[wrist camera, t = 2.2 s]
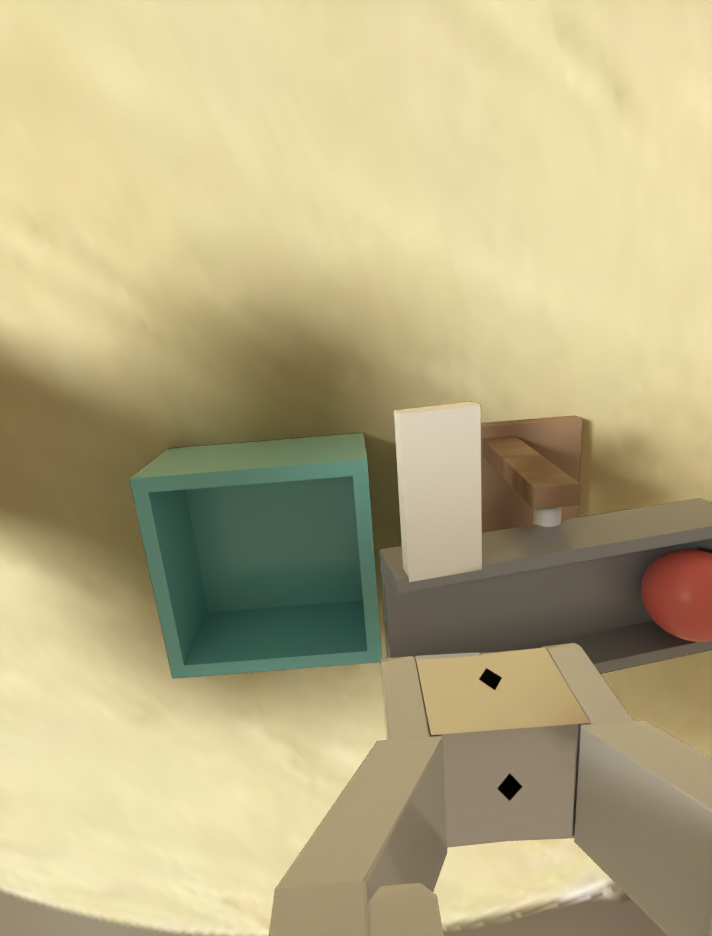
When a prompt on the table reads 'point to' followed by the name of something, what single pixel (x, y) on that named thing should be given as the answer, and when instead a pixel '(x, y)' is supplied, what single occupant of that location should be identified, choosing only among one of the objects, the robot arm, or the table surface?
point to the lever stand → (529, 470)
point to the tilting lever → (519, 560)
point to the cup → (261, 554)
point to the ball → (680, 593)
